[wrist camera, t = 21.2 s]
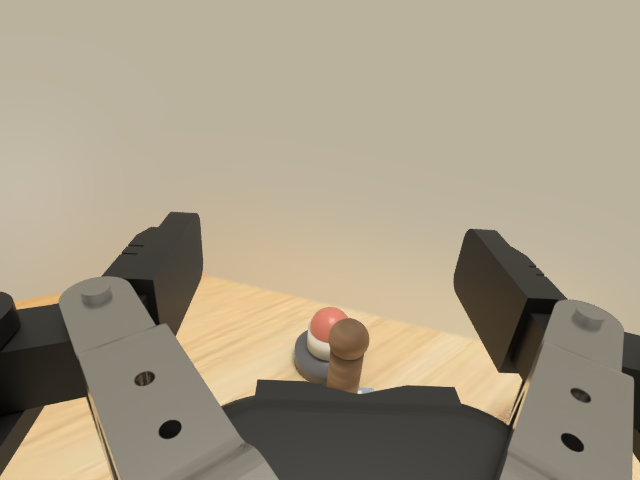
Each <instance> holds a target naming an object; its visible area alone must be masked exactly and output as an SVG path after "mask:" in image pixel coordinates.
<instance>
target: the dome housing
mask: <svg viewBox="0 0 640 480" xmlns="http://www.w3.org/2000/svg"><path fill="white" fill-rule="evenodd" d="M307 336H308V330H307V331H305V332H304V333H302V334H301V335H300V336H299V337H298V339H297V341H296V344H295V357H294V362H295V366H296V369H297V370H298V372H299V373H300V374H301V375H302V376H303V377H304V378H305V379H307V380H308V381H310V382H313V383H315V384H319V385H323V386H326V384H327V375H328V366H329V361H326V360H322V359H319V358H317V357H315V356H314V355H312V354H311V353H310V351H309V350H308V348H307Z"/></svg>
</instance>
